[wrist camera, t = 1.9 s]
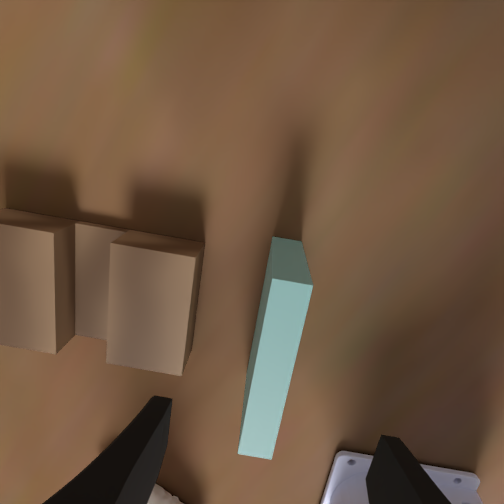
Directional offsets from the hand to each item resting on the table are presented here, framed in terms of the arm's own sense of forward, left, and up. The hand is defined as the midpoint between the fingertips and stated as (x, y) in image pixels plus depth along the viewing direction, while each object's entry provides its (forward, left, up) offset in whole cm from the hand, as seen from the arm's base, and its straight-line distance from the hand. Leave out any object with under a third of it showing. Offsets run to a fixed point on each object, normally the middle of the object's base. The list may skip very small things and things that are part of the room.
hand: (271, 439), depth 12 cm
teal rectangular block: (0, 0, -9) cm, 9 cm away
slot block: (+10, 0, -9) cm, 14 cm away
